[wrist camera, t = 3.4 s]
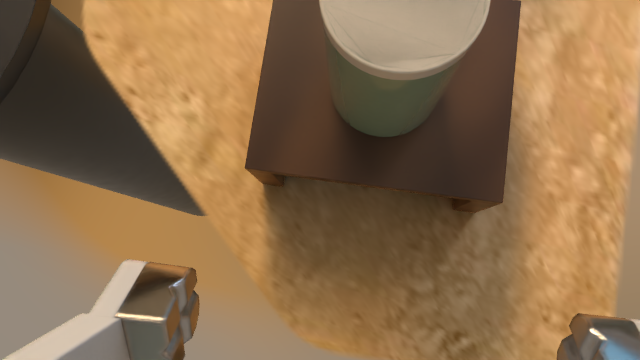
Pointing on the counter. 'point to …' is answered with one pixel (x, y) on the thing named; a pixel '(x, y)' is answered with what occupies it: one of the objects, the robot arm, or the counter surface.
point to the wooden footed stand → (385, 152)
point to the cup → (395, 57)
